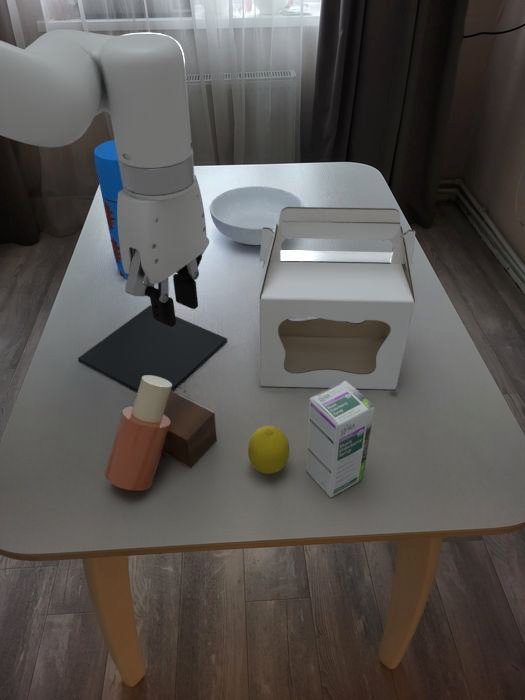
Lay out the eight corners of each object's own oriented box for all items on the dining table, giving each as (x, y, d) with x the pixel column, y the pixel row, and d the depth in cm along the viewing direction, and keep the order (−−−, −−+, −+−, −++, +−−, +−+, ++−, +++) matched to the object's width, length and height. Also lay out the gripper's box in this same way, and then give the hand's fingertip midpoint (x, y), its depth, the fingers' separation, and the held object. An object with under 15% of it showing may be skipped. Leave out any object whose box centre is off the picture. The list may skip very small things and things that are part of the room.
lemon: (276, 491, 74) (277, 453, 69) (241, 474, 76) (239, 436, 71) (295, 462, 78) (297, 424, 73) (260, 447, 80) (260, 409, 75)
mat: (78, 361, 94) (77, 358, 94) (150, 308, 106) (150, 305, 105) (159, 403, 87) (158, 400, 86) (227, 341, 98) (227, 338, 97)
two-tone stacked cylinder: (99, 488, 75) (75, 415, 65) (159, 431, 82) (146, 358, 73) (134, 511, 72) (115, 438, 63) (193, 449, 80) (183, 376, 70)
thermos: (107, 266, 117) (82, 148, 100) (150, 248, 122) (133, 133, 106) (135, 288, 111) (113, 166, 94) (179, 268, 116) (165, 149, 100)
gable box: (258, 387, 89) (256, 230, 71) (261, 335, 99) (261, 186, 81) (397, 390, 89) (432, 233, 70) (386, 337, 99) (414, 188, 80)
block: (137, 438, 81) (131, 410, 78) (164, 412, 85) (160, 384, 81) (191, 468, 77) (187, 440, 73) (217, 440, 81) (214, 412, 77)
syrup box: (330, 499, 73) (340, 426, 64) (303, 469, 77) (309, 395, 68) (363, 479, 76) (377, 406, 66) (335, 451, 79) (345, 377, 70)
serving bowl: (296, 261, 118) (298, 232, 114) (201, 252, 121) (198, 224, 116) (308, 215, 133) (309, 188, 129) (223, 209, 136) (221, 182, 132)
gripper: (181, 139, 64) (194, 273, 76) (71, 192, 54) (106, 338, 66) (233, 153, 61) (239, 291, 73) (128, 212, 51) (154, 361, 63)
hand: (176, 312), depth 69 cm, fingers open, 3 cm apart
